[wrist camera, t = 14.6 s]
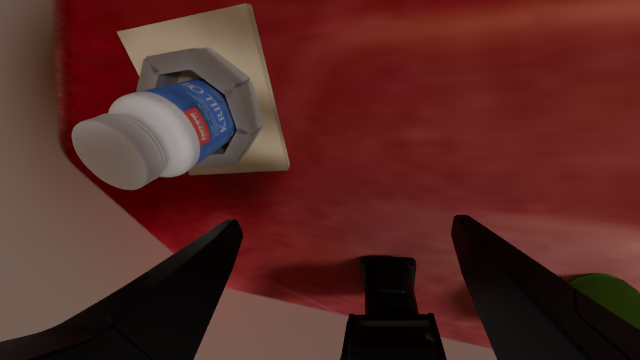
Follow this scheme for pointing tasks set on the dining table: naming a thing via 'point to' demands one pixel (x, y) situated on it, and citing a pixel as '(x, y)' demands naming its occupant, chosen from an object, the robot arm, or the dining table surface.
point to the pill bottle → (155, 133)
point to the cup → (612, 295)
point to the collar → (217, 80)
